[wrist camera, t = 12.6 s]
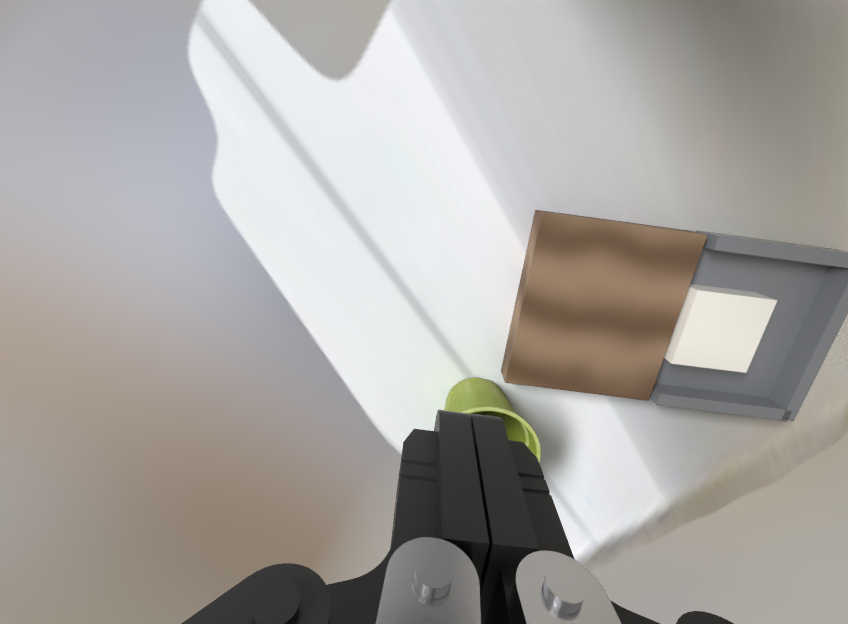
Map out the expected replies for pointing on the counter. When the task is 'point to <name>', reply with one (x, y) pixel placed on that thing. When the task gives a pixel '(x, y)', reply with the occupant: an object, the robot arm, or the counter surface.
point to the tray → (784, 334)
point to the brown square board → (598, 304)
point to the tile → (719, 328)
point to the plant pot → (492, 409)
